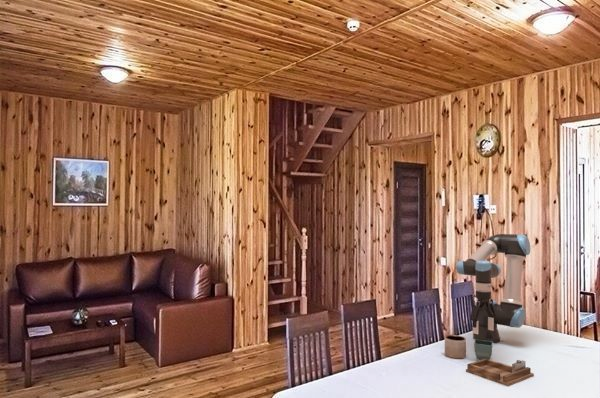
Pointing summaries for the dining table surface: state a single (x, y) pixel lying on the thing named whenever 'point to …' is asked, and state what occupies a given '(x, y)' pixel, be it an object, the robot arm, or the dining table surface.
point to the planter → (455, 346)
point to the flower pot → (483, 349)
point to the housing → (498, 372)
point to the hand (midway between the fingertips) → (483, 331)
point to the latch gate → (518, 365)
